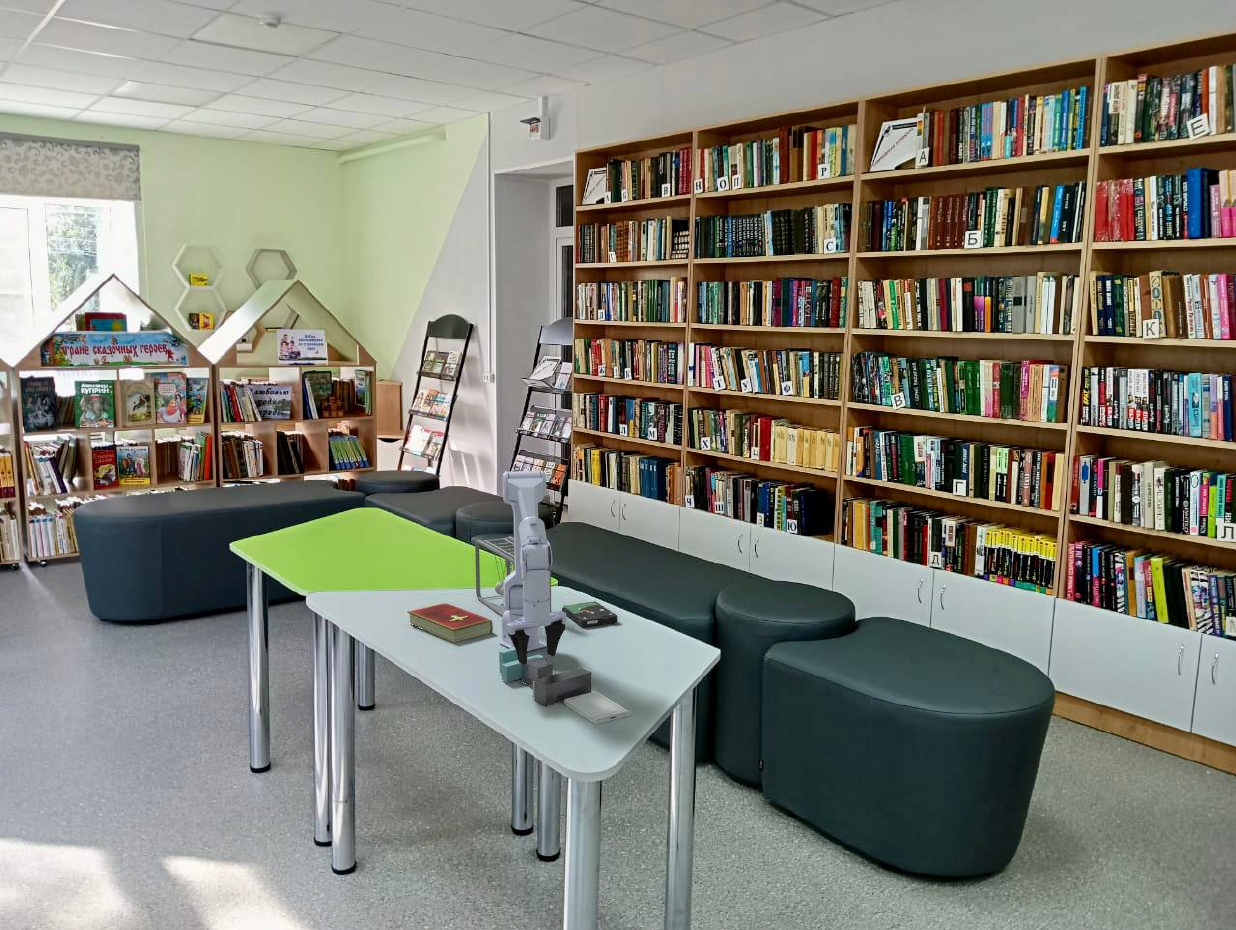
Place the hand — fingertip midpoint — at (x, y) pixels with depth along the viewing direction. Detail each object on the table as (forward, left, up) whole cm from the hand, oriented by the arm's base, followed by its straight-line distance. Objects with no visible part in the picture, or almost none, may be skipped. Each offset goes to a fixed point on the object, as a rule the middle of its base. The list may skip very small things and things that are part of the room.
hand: (537, 659), depth 211 cm
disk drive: (-30, +38, -6) cm, 49 cm away
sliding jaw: (-7, 0, -5) cm, 9 cm away
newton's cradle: (-50, +27, -6) cm, 57 cm away
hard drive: (+19, +1, -6) cm, 20 cm away
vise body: (+8, 0, -6) cm, 9 cm away
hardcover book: (-47, +5, -6) cm, 47 cm away
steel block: (0, 0, -6) cm, 6 cm away
